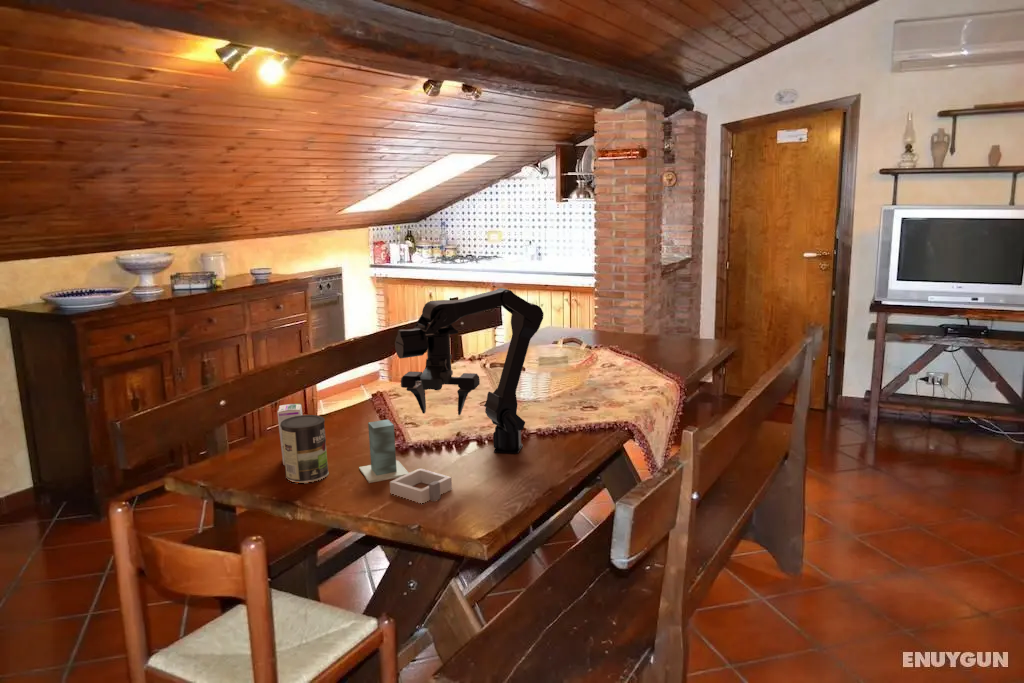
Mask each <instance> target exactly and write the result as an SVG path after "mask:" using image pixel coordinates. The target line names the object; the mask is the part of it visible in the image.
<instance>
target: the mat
mask: <svg viewBox="0 0 1024 683" xmlns="http://www.w3.org/2000/svg"><path fill="white" fill-rule="evenodd" d="M358 469H359V471H360V472H361V474H362V475H363V476H364V478H365V479H366V481H367V482H368V484H370V483H376V482H381V481H387V480H392V479H393V480H394V479H397V478H399V477H401V476H404V475H406V474H408V473H410V472H409V471H408V470H407V469H406V468H405V467H404V465H403V464H402V463H401V462H400V461H399V459H398V460H397V459H396V469H397V472H393V473H387V474H382V475H376V474H375V473H374V471H373V470H372V469H371V464H368V465H363V466H359V467H358Z"/></svg>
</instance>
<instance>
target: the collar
mask: <svg viewBox="0 0 1024 683" xmlns="http://www.w3.org/2000/svg"><path fill="white" fill-rule="evenodd" d="M452 480H453V479H452V477H451V476H448V475H446V474H445V475H444V474H442V473H439V472H434V471H431V470H428V469H424V468H421V467H420V468H417V469H415V470H412V471H410V472H409V473H408V474H406V475H404V476H401V477H398V478H394V479H393V480H391V481H389V492H390V493H391V494H390V495H392V494H394V495H393V496H395V495H397V496H396V497H398V496H400V497H399V498H401V497H403V498H402V499H404V498H406V499H405V500H407V499H409V500H408V501H410V500H412V501H411V502H413V501H416V502H415V503H417V502H418V504H420V503H421V504H420V505H423V504H422V503H424V504H425V502H426V503H428V502H430V501H429V500H432V501H431V502H433V501H435V502H437V501H438V499H439V500H441V494H442V495H443V493H444V494H445V493H448V492H450V491H451V490H453V483H452ZM420 483H422V484H426V485H427V486H425V487H422V488H420V487H417V486H416V485H418V484H420ZM415 486H416V487H415ZM436 500H437V501H436ZM427 501H428V502H427Z"/></svg>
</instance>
